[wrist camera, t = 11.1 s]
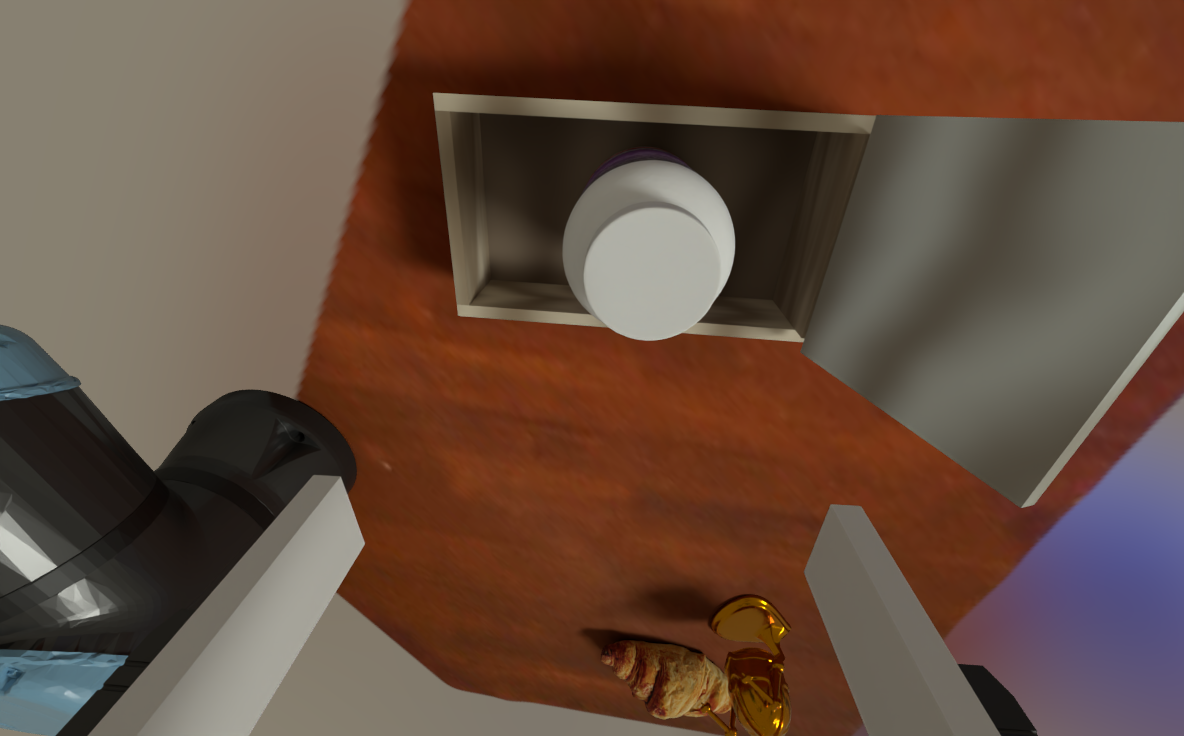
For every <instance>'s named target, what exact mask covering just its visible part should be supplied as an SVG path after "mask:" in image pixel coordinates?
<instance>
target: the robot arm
mask: <svg viewBox="0 0 1184 736" xmlns="http://www.w3.org/2000/svg"><path fill="white" fill-rule="evenodd" d="M79 385H81V383H80V381H79V379H77V378H76V377H73V376H69V375H68V374H67V373H66V372H65V371H64V370H63V369H62V368H61V367H60V366H59V365H58V364H57V363H56V362H55V361H54V360H53V359H52V358H51V357H50V356H49V355H48V354H47V353H46V352H45V351H44V350H43V349H42V348H41V347H40V346H39V345H38V344H37V343H36V342H35V341H34V340H33V339H32V338H31V337H29V336H28V335H26V334H25V333H23V332H21V331H19V330H17V329H14V328H11V327H8V326H3V325H0V728H4V729H9V730H15V731H21V732H27V733H33V734H41V735H48V736H249V734H250V733H251V731H252V729H253V727H254V726H255V724H256V723H257V721H258V719H259V718H260V716H261V714H262V713H263V711H264V709H265V708H266V706H267V705H268V703H269V701H270V700H271V698H272V696H273V695H274V693H275V691H276V690H277V688H278V686H279V685H280V683H281V681H282V680H283V678H284V677H285V675H286V673H287V671H288V670H289V668H290V667H291V665H292V663H293V662H294V660H295V658H296V657H297V655H298V653H299V652H300V650H301V648H302V647H303V645H304V644H305V641H306V640H307V639H308V637H309V635H310V633H311V632H312V630H313V629H314V627H315V625H316V624H317V622H318V620H319V619H320V617H321V616H322V614H323V612H324V611H325V609H326V607H327V606H328V604H329V602H330V601H331V599H332V597H333V596H334V594H335V592H336V591H337V589H338V587H339V586H340V584H341V583H342V581H343V579H344V578H345V576H346V574H347V573H348V571H349V569H350V568H351V566H352V564H353V563H354V561H355V559H356V558H357V556H358V554H359V553H360V551H361V550H362V548H363V546H364V545H365V543H364V540H363V537H362V534H361V532H360V529H359V526H358V523H357V520H356V518H355V515H354V512H353V509H352V507H351V504H350V501H349V498H348V495H347V494H348V493H349V491H350V490H351V489H352V487H353V485H354V483H355V480H356V473H357V469H356V462H355V458H354V455H353V453H352V451H351V449H350V447H349V445H348V443H347V442H346V440H345V439H344V437H343V436H342V435H341V434H340V432H339V431H338V430H337V429H336V428H335V427H334V426H333V425H332V424H331V423H330V422H329V421H328V420H326V419H325V418H324V417H323V416H321V415H320V414H319V413H317V412H316V411H314V410H313V409H311V408H309V407H308V406H306V405H304V404H302V403H300V402H298V401H296V400H294V399H291V398H289V397H286V396H283V395H280V394H277V393H273V392H268V391H261V390H239V391H235V392H231V393H228V394H226V395H224V396H222V397H220V398H219V399H217V400H216V401H214V402H213V403H211V404H210V405H208V406H207V407H206V408H204V409H203V410H202V411H200V412H199V413H198V414H197V415H196V416H195V417H194V419H193V420H192V422H191V424H190V425H189V426H188V428H187V431H186V433H185V435H184V436H183V437H182V438H181V440H180V441H179V442H178V443H177V445H176V446H175V447H174V448H173V450H172V451H171V452H170V454H169V455H168V457H167V458H166V459H165V460H164V462H163V463H162V464H161V466H160V467H159V468H158V469H156V470H155V471H153V470H152V469H151V468H150V467H149V466H148V465H147V464H146V463H145V462H144V460H143V459H142V458H141V457H140V456H139V455H138V454H137V453H136V452H135V451H134V449H133V448H132V447H131V446H130V445H129V444H128V443H127V441H126V440H125V439H124V438H123V437H122V436H121V434H120V433H119V432H118V431H117V430H116V429H115V428H114V427H113V425H112V424H111V423H110V422H109V421H108V420H107V418H106V417H105V416H104V415H103V414H102V413H101V411H100V410H99V409H98V408H97V407H96V406H95V405H94V403H93V402H92V401H91V400H90V399H89V398H88V397H87V395H86V394H85V393H84V392H83V391H82V390H81V389H80V387H79ZM804 574H805V576H806V579H807V581H808V584H809V586H810V589H811V591H812V594H813V596H814V599H815V602H816V604H817V607H818V609H819V612H820V614H821V617H822V619H823V622H824V624H825V627H826V629H827V632H828V634H829V637H830V639H831V642H832V644H833V647H834V650H835V652H836V655H837V657H838V660H839V662H840V665H841V667H842V670H843V672H844V675H845V677H846V680H847V682H848V685H849V687H850V690H851V692H852V695H853V697H854V700H855V703H856V705H857V708H858V710H859V713H860V715H861V718H862V720H863V723H864V725H865V728H866V730H867V733H868V735H869V736H1038V735H1037V731H1036V729H1035V728H1034V726H1033V725H1032V723H1031V722H1030V720H1029V719H1028V717H1027V716H1026V714H1025V713H1024V712H1023V710H1022V708H1021V707H1020V705H1019V704H1018V702H1017V701H1016V699H1015V698H1014V696H1013V695H1012V694H1011V693H1010V692H1009V691H1008V690H1007V689H1006V688H1004V686H1003V685H1002V684H1001V683H1000V682H999V681H998V680H997V679H996V678H994V676H992V674H991V673H990V672H988V670H987V669H985V668H984V667H983V666H978V665H965V664H957V663H956V661H955V660H954V658H953V657H952V655H951V653H950V652H949V650H948V648H947V647H946V645H945V643H944V642H943V640H942V638H941V637H940V635H939V633H938V632H937V630H936V628H935V627H934V625H933V624H932V622H931V620H930V619H929V617H928V615H927V614H926V612H925V610H924V609H923V607H922V605H921V604H920V602H919V601H918V599H917V597H916V596H915V594H914V592H913V591H912V589H911V587H910V586H909V584H908V583H907V581H906V579H905V578H904V576H903V574H902V573H901V571H900V569H899V568H898V566H897V564H896V563H895V561H894V560H893V558H892V556H891V555H890V553H889V551H888V550H887V548H886V546H885V545H884V543H883V542H882V540H881V538H880V537H879V535H878V533H877V532H876V530H875V528H874V527H873V525H872V523H871V522H870V520H869V519H868V517H867V515H866V514H865V512H864V510H863V509H862V507H861V506H849V505H830V508H829V510H828V513H827V515H826V518H825V520H824V523H823V525H822V528H821V530H820V533H819V535H818V538H817V540H816V543H815V545H814V548H813V550H812V553H811V555H810V558H809V561H808V563H807V566H806V568H805V571H804Z"/></svg>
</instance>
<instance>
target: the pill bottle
mask: <svg viewBox="0 0 1184 736" xmlns="http://www.w3.org/2000/svg"><path fill="white" fill-rule="evenodd" d="M734 254H735V234H734V228H733V223H732V220H731V216H730V214H729V211H728V209H727V207H726V205H725V203H724V201H723V200H722V198H721V197H720V195H719V194H718V192H717V191H716V190H715V189H714V188H713V187H712V186H711V184H710V183H708V182H707V181H706V180H705V179H704V178H703V177H702V176H700V175H699V174H698V173H696V172H695V171H694V170H693V169H691V168H690V167H689V166H688V165H687V164H686V163H685V162H684V161H683V160H681V159H680V158H679V157H677V156H675V155H674V154H672V153H670V152H668V151H665V150H662V149H659V148H654V147H635V148H630V149H627V150H624V151H621V152H619V153H617V154H615V155H613V156H611V157H610V158H609V159H607V160H606V161H605V162H603V163H602V164H601V165H600V166H599V167H598V168H597V170H596V171H595V172H594V173H593V175H592V176H591V178H590V179H589V181H588V183H587V185H586V187H585V189H584V190H583V192H582V194H581V196H580V197H579V199H578V201H577V203H576V204H575V206H574V208H573V210H572V212H571V214H570V217H569V219H568V222H567V224H566V228H565V232H564V238H563V264H564V270H565V274H566V277H567V280H568V283H569V285H570V287H571V289H572V291H573V293H574V295H575V296H576V298H577V299H578V301H579V302H580V303H581V305H582V306H583V307H584V308H585V309H586V310H587V311H588V312H589V313H590V314H591V315H593V316H594V317H595V318H596V319H598V320H599V321H601V322H602V323H604V324H605V325H606V326H608V327H609V328H610V329H612V330H614V331H615V332H617V333H619V334H621V335H624V336H626V337H629V338H633V339H638V340H661V339H666V338H669V337H673V336H675V335H678V334H680V333H682V332H684V331H686V330H688V329H689V328H690V327H692V326H693V325H695V324H696V323H697V322H698V321H699V320H700V319H701V318H702V317H703V316H704V315H705V314H706V313H707V311H708V310H709V309H710V307H711V305H712V304H713V302H714V301H715V299H716V298H717V297H718V295H719V294H720V293H721V291H722V289H723V287H724V286H725V284H726V282H727V280H728V277H729V275H730V272H731V268H732V265H733V260H734Z"/></svg>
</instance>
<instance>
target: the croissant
mask: <svg viewBox="0 0 1184 736" xmlns="http://www.w3.org/2000/svg"><path fill="white" fill-rule="evenodd" d="M601 661H602V662H603V663H604V664H607V665H611V666H612V669H613V672H614V673H615V674H616V675H617V676H618V677H619V678H620V679H623V680H624V681H625V682H627V684H628V685H629V687H630V689H631V691H632V695H633V697H636V698H638V699H640V700H642V701H644V702H645V705H646V708H647V711H648V712H649V713H650V714H652V715H653V716H655V717H658V718H661V719H666V718H676V717H679V716H682V715H685V716H695V717H699V716H706V715H708V713H707V712H706V713H705V714H704V713H702V711H701V706H702V704H701V702H702V703H703V704H704V705H705V703H707V702H708V703H710V705H711V710H712V711H713V712H714V713H715V714H719V713H726V712H727V711H729V710H730V709H731V699H730V696H729V694H728V680H727V677H726V675H725V674H724V673H722V671H721V670H720V669H719V668H718V667H717V666H716V665H714V664H713V663H712V662H710V661H709V660H708V659H707V658H706V656H705V655H704V654H698V653H696V652H691V651H689V650H688V649H686V648H684V647H681V646H676V645H672V644H656V643H648V642H644V641H634V640H622V641H619V642H616V643H614V644H610V645H606V646H605V647H604V648H603V649H602V654H601Z"/></svg>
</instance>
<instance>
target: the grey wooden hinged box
mask: <svg viewBox="0 0 1184 736" xmlns="http://www.w3.org/2000/svg"><path fill="white" fill-rule="evenodd" d="M433 99H434V108H435V117H436V125H437V134H438V143H439V152H440V160H441V169H442V178H443V187H444V195H445V204H446V213H447V222H448V230H449V239H450V248H451V257H452V266H453V274H454V283H455V292H456V301H457V309H458V316H467V317H480V318H493V319H506V320H519V321H532V322H545V323H559V324H572V325H585V326H598V327H608V326H606V325H605V324H604V323H602V322H601V321H599V320H598V319H596V318H595V317H594V316H593V315H591V314H590V313H589V312H588V311H587V310H586V309H585V308H584V307H583V306H582V305H581V303H580V302H579V301H578V299H577V298H576V296H575V295H574V293H573V291H572V289H571V287H570V285H569V283H568V280H567V277H566V274H565V270H564V264H563V238H564V232H565V228H566V224H567V222H568V219H569V217H570V214H571V212H572V210H573V208H574V206H575V204H576V203H577V201H578V199H579V197H580V196H581V194H582V192H583V190H584V189H585V187H586V185H587V183H588V181H589V179H590V178H591V176H592V175H593V173H594V172H595V171H596V170H597V168H598V167H599V166H600V165H601V164H602V163H603V162H605V161H606V160H607V159H609V158H610V157H611V156H613V155H615V154H617V153H619V152H621V151H624V150H627V149H630V148H635V147H654V148H659V149H662V150H665V151H668V152H670V153H672V154H674V155H675V156H677V157H679V158H680V159H681V160H683V161H684V162H685V163H686V164H687V165H688V166H689V167H690V168H691V169H693V170H694V171H695V172H696V173H698V174H699V175H700V176H702V177H703V178H704V179H705V180H706V181H707V182H708V183H710V184H711V186H712V187H713V188H714V189H715V190H716V191H717V192H718V194H719V195H720V197H721V198H722V200H723V201H724V203H725V205H726V207H727V209H728V211H729V214H730V216H731V220H732V223H733V228H734V234H735V254H734V260H733V265H732V268H731V272H730V275H729V277H728V280H727V282H726V284H725V286H724V287H723V289H722V291H721V293H720V294H719V295H718V297H717V298H716V299H715V301H714V302H713V304H712V305H711V307H710V309H709V310H708V311H707V313H706V314H705V315H704V316H703V317H702V318H701V319H700V320H699V321H698V322H697V323H696V324H695V325H693V326H692V327H690V328H689V329H688V330H686V331H684V332H682V333H690V334H703V335H716V336H729V337H742V338H755V339H769V340H782V341H795V342H803V346H802V349H801V353H802V354H804V355H805V356H806V357H808V358H809V359H811V360H812V361H814V362H815V363H816V364H818V365H819V366H821V367H822V368H823V369H825V370H826V371H828V372H829V373H831V374H832V375H833V376H835V377H836V378H838V379H839V380H840V381H842V382H843V383H845V384H846V385H848V386H849V387H850V388H852V389H853V390H855V391H856V392H857V393H859V394H860V395H862V396H863V397H865V398H866V399H867V400H869V401H870V402H872V403H873V404H874V405H876V406H877V407H879V408H880V409H882V410H883V411H884V412H886V413H887V414H889V415H890V416H891V417H893V418H894V419H896V420H897V421H899V422H900V423H901V424H903V425H904V426H906V427H907V428H908V429H910V430H911V431H913V432H914V433H915V434H917V435H918V436H920V437H921V438H923V439H924V440H925V441H927V442H928V443H930V444H931V445H932V446H934V447H935V448H937V449H938V450H940V451H941V452H942V453H944V454H945V455H947V456H948V457H949V458H951V459H952V460H954V461H955V462H957V463H958V464H959V465H961V466H962V467H964V468H965V469H966V470H968V471H969V472H971V473H972V474H974V475H975V476H976V477H978V478H979V479H981V480H982V481H983V482H985V483H986V484H988V485H989V486H991V487H992V488H993V489H995V490H996V491H998V492H999V493H1000V494H1002V495H1003V496H1005V497H1006V498H1008V499H1009V500H1010V501H1012V502H1013V503H1015V504H1016V505H1017V506H1019V507H1020V508H1022V507H1027V506H1031V505H1034V504H1035V503H1036V502H1037V500H1038V499H1039V498H1040V496H1041V495H1042V494H1043V493H1044V491H1045V490H1046V489H1047V487H1048V486H1049V485H1050V483H1051V482H1052V481H1053V480H1054V478H1055V477H1056V476H1057V474H1058V473H1059V472H1060V471H1061V469H1062V468H1063V467H1064V465H1065V464H1066V463H1067V461H1068V460H1069V459H1070V458H1071V456H1072V455H1073V454H1074V452H1075V451H1076V450H1077V449H1078V447H1079V446H1080V445H1081V443H1082V442H1083V441H1084V440H1085V438H1086V437H1087V436H1088V434H1089V433H1090V432H1091V430H1092V429H1093V428H1094V427H1095V425H1096V424H1097V423H1098V421H1099V420H1100V419H1101V418H1102V416H1103V415H1104V414H1105V412H1106V411H1107V410H1108V408H1109V407H1110V406H1111V405H1112V403H1113V402H1114V401H1115V399H1116V398H1117V397H1118V396H1119V394H1120V393H1121V392H1122V390H1123V389H1124V388H1125V386H1126V385H1127V384H1128V383H1129V381H1130V380H1131V379H1132V377H1133V376H1134V375H1135V374H1136V372H1137V371H1138V370H1139V368H1140V367H1141V366H1142V365H1143V363H1144V362H1145V361H1146V359H1147V358H1148V357H1149V355H1150V354H1151V353H1152V352H1153V350H1154V349H1155V348H1156V346H1157V345H1158V344H1159V343H1160V341H1161V340H1162V339H1163V337H1164V336H1165V335H1166V333H1167V332H1168V331H1169V330H1170V328H1171V327H1172V326H1173V324H1174V323H1175V322H1176V321H1177V319H1178V318H1179V317H1180V315H1181V314H1182V313H1183V311H1184V122H1149V121H1105V120H1062V119H1018V118H975V117H931V116H888V115H876V116H867V115H848V114H829V113H810V112H791V111H772V110H753V109H733V108H714V107H695V106H676V105H657V104H638V103H619V102H600V101H581V100H562V99H543V98H524V97H505V96H485V95H466V94H447V93H433Z"/></svg>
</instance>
